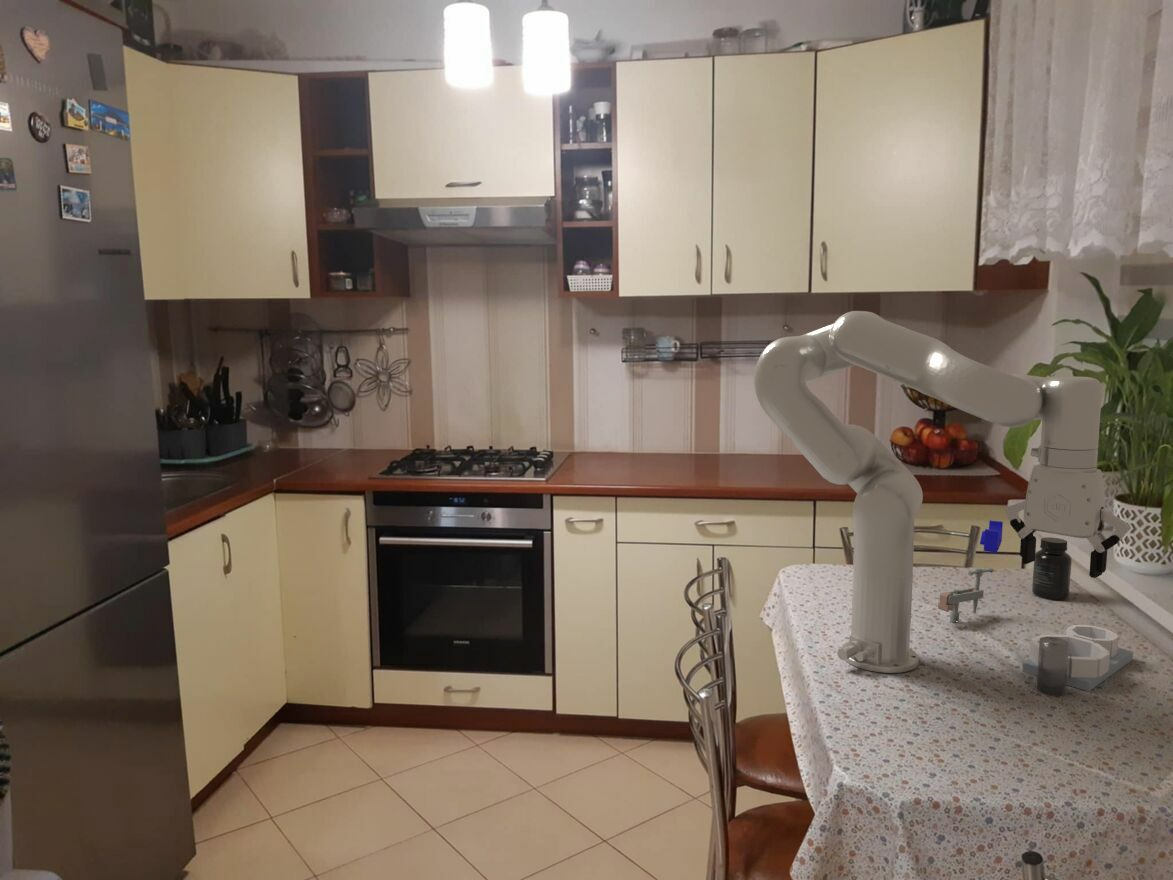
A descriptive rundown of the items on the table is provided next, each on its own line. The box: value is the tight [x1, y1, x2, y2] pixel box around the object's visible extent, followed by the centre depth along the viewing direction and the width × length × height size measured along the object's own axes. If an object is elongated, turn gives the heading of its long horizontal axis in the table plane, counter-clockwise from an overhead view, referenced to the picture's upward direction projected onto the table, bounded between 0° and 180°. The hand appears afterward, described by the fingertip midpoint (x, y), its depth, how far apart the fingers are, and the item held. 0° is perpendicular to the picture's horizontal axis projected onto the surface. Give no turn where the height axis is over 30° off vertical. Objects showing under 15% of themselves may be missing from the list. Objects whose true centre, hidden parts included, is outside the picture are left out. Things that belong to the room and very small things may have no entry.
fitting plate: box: [1022, 624, 1134, 692], centre depth 140 cm, size 19×11×4 cm, turn 130°
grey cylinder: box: [1035, 637, 1069, 697], centre depth 131 cm, size 4×4×8 cm
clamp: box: [937, 567, 995, 623], centre depth 162 cm, size 15×2×10 cm, turn 123°
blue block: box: [979, 519, 1004, 554], centre depth 213 cm, size 12×4×6 cm, turn 149°
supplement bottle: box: [1031, 536, 1072, 601], centre depth 175 cm, size 7×7×12 cm
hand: (1061, 569), depth 128 cm, fingers open, 9 cm apart
